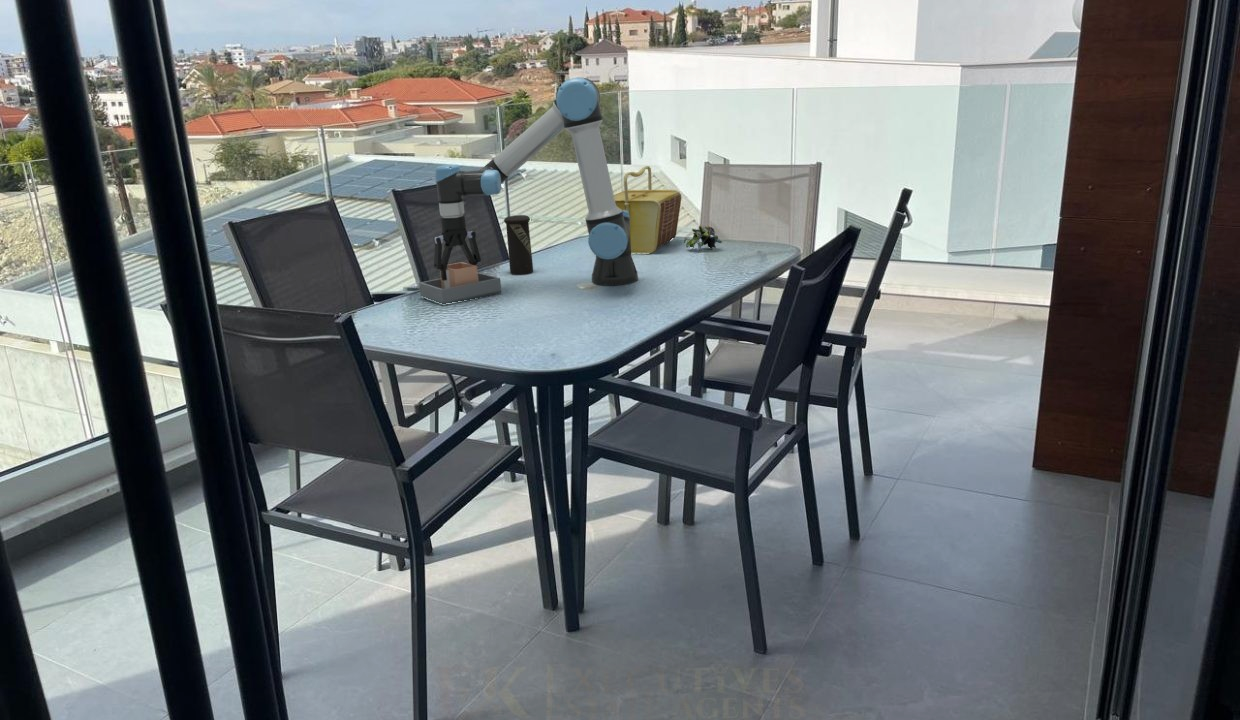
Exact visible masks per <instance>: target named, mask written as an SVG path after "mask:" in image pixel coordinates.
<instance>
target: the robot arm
mask: <svg viewBox="0 0 1240 720" xmlns="http://www.w3.org/2000/svg"><path fill="white" fill-rule="evenodd" d="M600 92H601V91H600V89H599V87H598V86H597V85H596V83H595V82H594V81H592V80H591V79H589V78H586V77H573V78H569V79H567V80H566V81H564V82H562V84H561V85H560V87H559V88H558V90H557V94H556V99H555V100H554V101H552V107H551V108H549V109H548V110H547V111H546V112H545V113H544V114H543V115H541V116H540V117H539V118H538V119H537V120H536V121H534V122H533V124H531V125H530V126H528V128H527V129H525V130H524V131H523V132H522V133H521V134H520V135H519V136H517V138H515V139H514V140H512V142H510V144H508V145H507V146H506V147H505V148H504V149H503V150H502V151H500V152H499V153H498V154H497V155H496V156H495V157H494V158H492V159H491V160H490V161H489V162H487V164H485V165H484V166H482V168H480V169H478V170H468V171H467V170H465V171H463V170H461V168H460V167H461V166H460V165H458V164H445V165H444V164H442V165H438V166H437V167H436V168H435V183H436V184H435V185H436V189H437V198H438V207H439V215H440V216H441V217H440V225H441V226H440V227H441V231H442V232H441V234H440V235H439V236H434V237H433V240H432V241H433V242H434V254H433V255H434V257H433V258H434V259H433V267H434V269H436V270H439V272H440V271H441V276H440V279H442V280H444V285H445V289H446V288H451V285H450V276H449V270H447V265H449V260H450V257H451V253H452V250H453V249H454V247H457V246H459V247H460V248H461V251H462V252H463V254H464V256H465V257H466V260H467V261H468V264H471V265H475V266H478V263H480V262H482V261H481V260H482V258H481V254H480V251H479V248H478V244H477V243H478V242H477V239H476V238H477V237H476V232H475V231H472V230H469V231H468V230H467V229H466V227H467V223H466V216H465V215H464V214H465V204H464V197H468V196H469V197H470V196H489V197H490V196H492V195H498V194H500V193H501V190H502V184H503V183H504V182H505V181H506V180H507V179H509V177H510V176H511V175H513V174H514V173H516V171H518V170H519V169H520V168H521V167H523V165H525V164H526V163H527V162H528V161H530V159H532V158H533V157H534V156H536V155H537V154H538V153H539V152H540V151H541V150H542V149H543V148H545V147H546V146H547V145H548V144H549V143H550V142H551V141H553V140H554V139H555V138H556V137H557V136H558V135H560V134H561V133H562V132H563V131H564V130H566V131H567V132H568V133H570V135H571V139H572V143H573V148H574V152H575V156H576V157H575V158H576V161H577V166H578V171H579V175H580V178H581V183H582V189H583V192H584V197H585V200H586V206H587V210H588V211H587V212H588V213H587V215H586V217H585V218H584V219H585V223H586V228H587V233H588V238H587V239H588V240H587V242H588V246H589V249H590V251H591V252H592V253H593V254H594V255H595V261H594V265H593V270H592V274H591V282H592V283H593V284H595V285H599V286H601V285H602V286H621V285H622V286H623V285H627V284H632V283H635V282H637V281H638V280H639V277H638V276H639V275H638V270H637V268H636V264H635V263H634V259H633V257H632V254H631V239H630V217H629V212H628V211H626V210H621V209H620V208H618V207H617V206H616V203H615V199H614V195H615V194H614V190H613V186H612V181H611V176H610V171H609V167H608V163H607V158H606V154H605V153H606V152H605V149H604V143H603V138H602V135H601V130H600V126H601V124H602V123H603V121H604V120H603V116H602V110H601V107H600V106H601V105H600V102H601V93H600ZM466 238H467V239H468V242H469V246H470V248H469V246H468V243H467V241H466ZM443 241H444V245H443ZM443 246H444V248H443ZM443 249H444V250H443ZM470 249H471V250H470ZM442 250H443V251H442Z"/></svg>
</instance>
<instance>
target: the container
mask: <svg viewBox="0 0 1240 720" xmlns="http://www.w3.org/2000/svg"><path fill="white" fill-rule="evenodd" d="M530 221H531V217H530V216H528V215H526V214H516V215H509V216H506V217H504V219H503V222H504V223H505V225H506V227H505V228H506V238H507V247H508V248H507V249H508V261H509V262H508V263H509V273H510V274H511V273H512V274H511V275H527V274H528V273H529V274H531V273H533V272H534V263H533V253H532V245H531V236H530V235H531V234H530V225H529V224H530V223H529V222H530Z"/></svg>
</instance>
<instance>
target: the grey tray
mask: <svg viewBox="0 0 1240 720" xmlns="http://www.w3.org/2000/svg"><path fill="white" fill-rule="evenodd" d="M478 280H479V282H476V283H471V284H466V285H461V286H456V287H451V288H446V289H442V285H441V278H436V279H435V278H434V279H430V280H426V281H421V282H420V281H419V282H418V284H419V285H418V286H419V292H420V293H419V294H420V295H419V296H420V297H421V296H423V297H426V298H428V299H431V300H434V301H436V302H439V303H442V304H446V303H452V302H458V301H464V300H469V301H471V300H470V299H474V300H476V299H475V298H478V299H481V298H480V297H483V298H487V297H486V296H488V297H491V295H492V296H495V295H496V294H497V295H501V293H502V284H501V277H497V276H494V275H489V274H485V273H483V272H480V271H479V272H478ZM502 294H503V293H502ZM497 295H496V296H497ZM464 302H465V301H464Z"/></svg>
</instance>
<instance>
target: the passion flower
mask: <svg viewBox="0 0 1240 720" xmlns="http://www.w3.org/2000/svg"><path fill="white" fill-rule="evenodd" d="M691 231H692V232H693V235H692V238H690V239H689V238H687V237H685V238H684V240H683V243H684V244H686V245H685V247H686V248H688V247H689V248H690V247H693V248H692V249H694V247H695V245H696V244H697V251H698V252H699V251H700V249H701V248H702V247H703V246H706V245H707V247H710V248H713V249H717V248H716V247H717V246H716V243H717V244H722V242H723V241H722V240H720V238H719V236H718V235H716V231H715V229H714V228H713V227H712V226H709V225H707V226H702V225H699V226H698V228H697V229H696V228H693V227H692V229H691ZM687 240H688V241H687ZM700 240H701V241H700ZM686 241H687V242H686Z"/></svg>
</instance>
